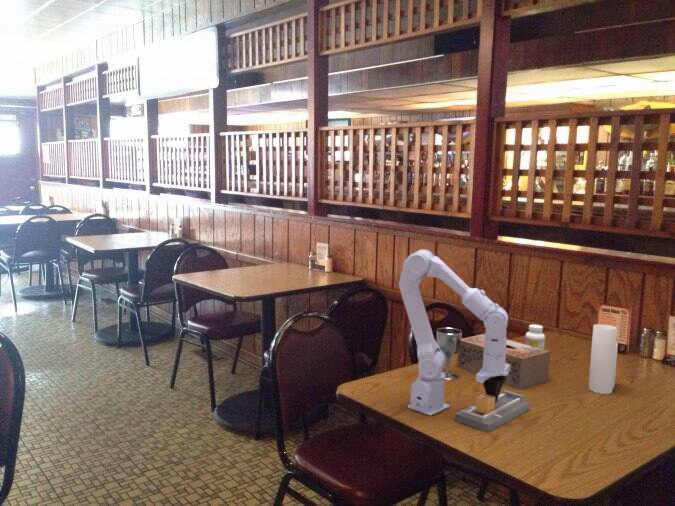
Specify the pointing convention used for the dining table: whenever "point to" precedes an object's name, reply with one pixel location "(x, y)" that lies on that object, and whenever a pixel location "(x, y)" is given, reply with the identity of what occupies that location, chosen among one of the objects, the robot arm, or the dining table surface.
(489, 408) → the fader tab
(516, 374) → the tissue box cover
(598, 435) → the dining table surface
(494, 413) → the grey flat railed block
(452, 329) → the wine glass
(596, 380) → the candle
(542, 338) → the supplement bottle
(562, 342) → the dining table surface
